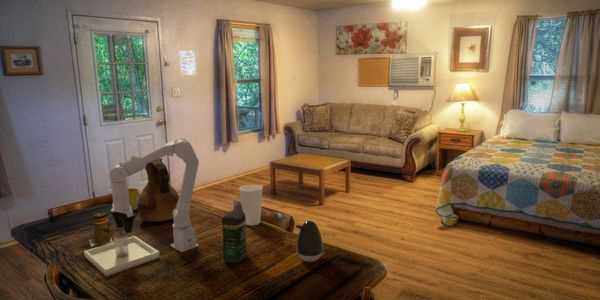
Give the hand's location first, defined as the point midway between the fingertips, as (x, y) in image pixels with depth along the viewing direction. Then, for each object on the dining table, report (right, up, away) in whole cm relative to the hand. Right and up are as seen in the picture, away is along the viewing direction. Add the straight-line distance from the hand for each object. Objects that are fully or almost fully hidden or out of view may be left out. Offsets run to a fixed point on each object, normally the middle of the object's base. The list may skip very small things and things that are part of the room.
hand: (124, 229), depth 162 cm
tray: (-1, -11, 0) cm, 11 cm away
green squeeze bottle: (+44, -11, -3) cm, 45 cm away
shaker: (-1, -10, 0) cm, 10 cm away
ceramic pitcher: (+1, -3, +39) cm, 39 cm away
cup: (+46, -3, +33) cm, 57 cm away
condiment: (-16, -8, +15) cm, 24 cm away
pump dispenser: (+72, -10, -4) cm, 73 cm away
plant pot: (-20, 0, +54) cm, 58 cm away
